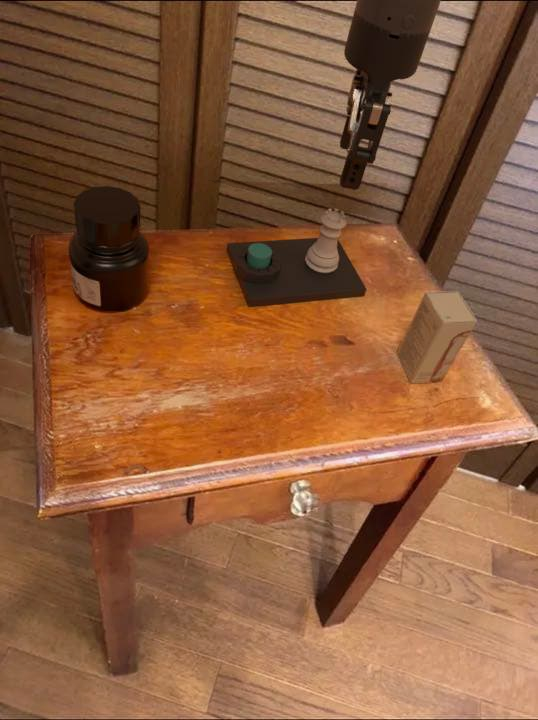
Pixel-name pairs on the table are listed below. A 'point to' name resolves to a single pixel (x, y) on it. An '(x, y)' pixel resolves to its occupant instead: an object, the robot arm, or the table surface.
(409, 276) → the table surface
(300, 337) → the table surface
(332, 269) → the rook chess piece
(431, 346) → the beige upright block
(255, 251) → the button
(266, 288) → the black kitchen scale
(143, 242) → the ink bottle
